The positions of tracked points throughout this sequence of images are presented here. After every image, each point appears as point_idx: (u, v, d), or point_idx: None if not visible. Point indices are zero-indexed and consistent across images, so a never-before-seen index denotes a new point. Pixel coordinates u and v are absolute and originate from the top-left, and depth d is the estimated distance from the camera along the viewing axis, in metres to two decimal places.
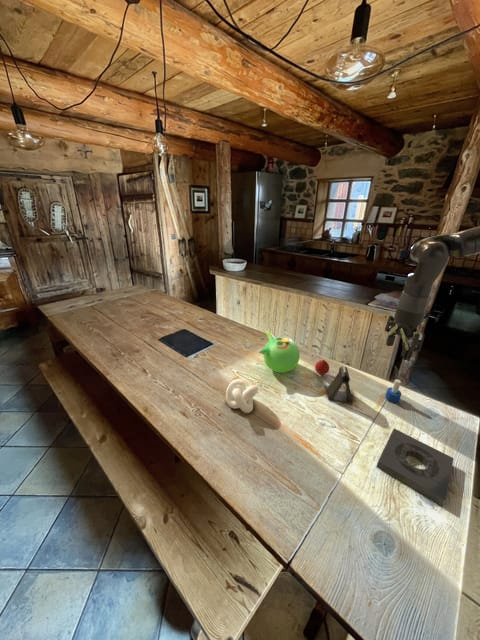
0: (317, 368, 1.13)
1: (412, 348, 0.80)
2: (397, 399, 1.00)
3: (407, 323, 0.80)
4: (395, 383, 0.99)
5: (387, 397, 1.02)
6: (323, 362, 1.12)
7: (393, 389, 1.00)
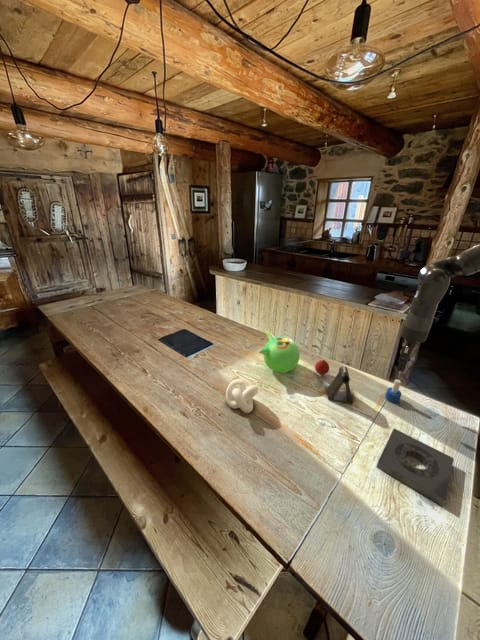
0: (317, 368, 1.13)
1: (399, 358, 0.90)
2: (397, 399, 1.00)
3: (403, 336, 0.90)
4: (395, 383, 0.99)
5: (387, 397, 1.02)
6: (323, 362, 1.12)
7: (393, 389, 1.00)
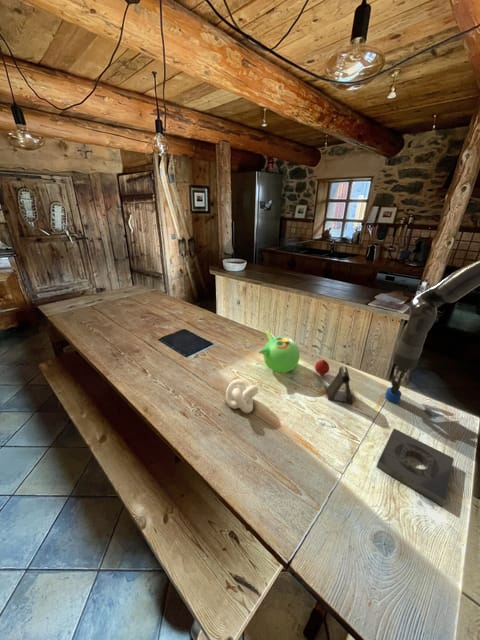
0: (317, 368, 1.13)
1: (392, 382, 0.97)
2: (397, 399, 1.00)
3: (395, 362, 0.95)
4: None
5: (387, 397, 1.02)
6: (323, 362, 1.12)
7: None
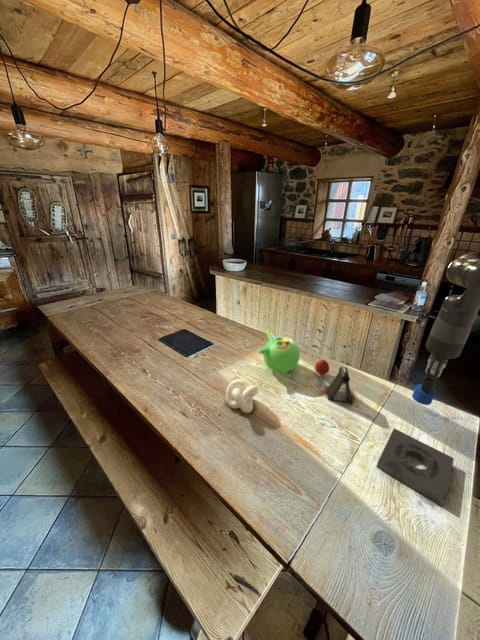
0: (317, 368, 1.13)
1: (424, 377, 0.72)
2: (430, 400, 0.75)
3: (430, 350, 0.69)
4: None
5: (415, 397, 0.76)
6: (323, 362, 1.12)
7: None
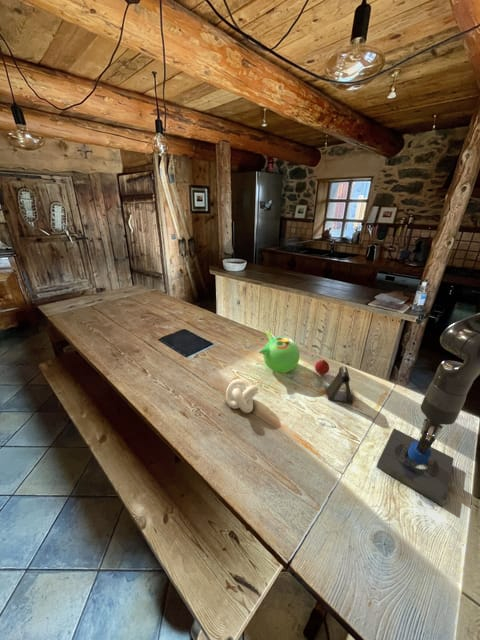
0: (317, 368, 1.13)
1: (420, 439, 0.70)
2: (425, 460, 0.73)
3: (425, 414, 0.68)
4: None
5: (411, 456, 0.75)
6: (323, 362, 1.12)
7: None
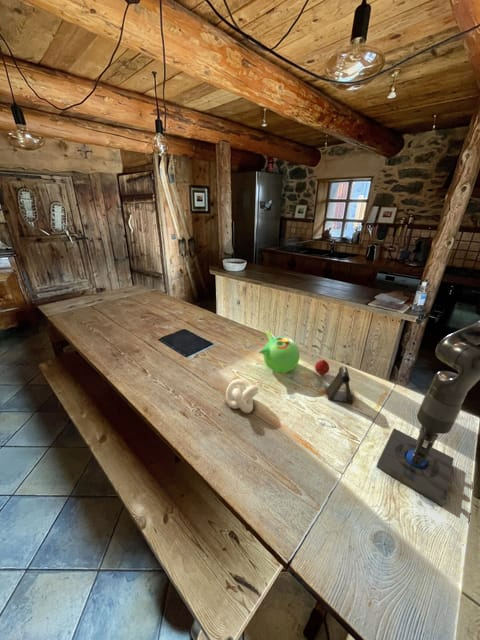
0: (317, 368, 1.13)
1: (415, 452, 0.69)
2: None
3: (421, 423, 0.69)
4: None
5: None
6: (323, 362, 1.12)
7: None
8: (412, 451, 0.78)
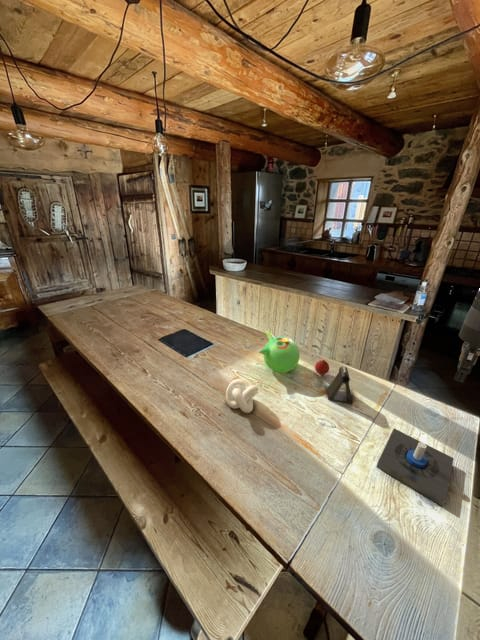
0: (317, 368, 1.13)
1: (459, 367, 0.72)
2: None
3: (464, 339, 0.72)
4: (419, 448, 0.74)
5: None
6: (323, 362, 1.12)
7: (416, 455, 0.75)
8: (412, 451, 0.78)
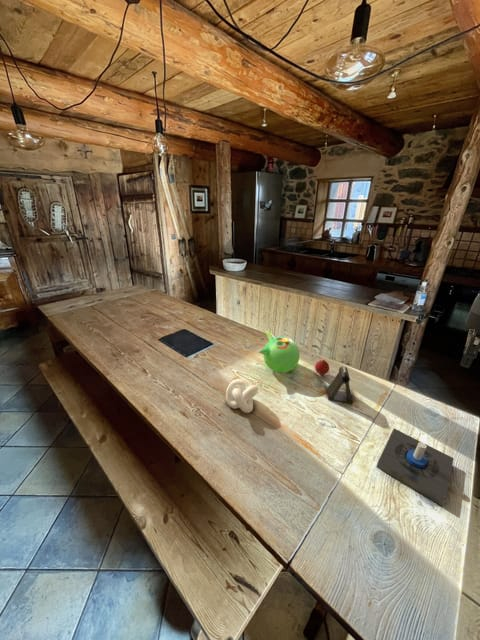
0: (317, 368, 1.13)
1: (465, 352, 0.74)
2: None
3: (471, 325, 0.75)
4: (419, 448, 0.74)
5: None
6: (323, 362, 1.12)
7: (416, 455, 0.75)
8: (412, 451, 0.78)
